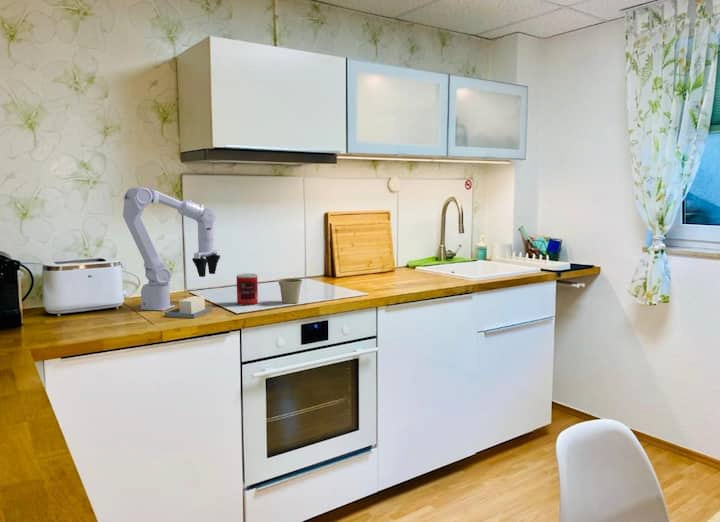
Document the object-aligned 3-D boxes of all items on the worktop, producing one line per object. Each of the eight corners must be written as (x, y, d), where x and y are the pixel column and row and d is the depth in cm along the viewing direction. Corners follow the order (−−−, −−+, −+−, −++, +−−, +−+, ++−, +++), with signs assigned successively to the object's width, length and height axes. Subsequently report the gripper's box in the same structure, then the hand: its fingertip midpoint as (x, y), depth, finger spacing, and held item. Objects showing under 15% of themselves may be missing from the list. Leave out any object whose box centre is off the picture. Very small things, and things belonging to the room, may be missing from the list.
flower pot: (299, 299, 219) (299, 277, 218) (305, 303, 211) (305, 281, 210) (275, 301, 216) (275, 279, 215) (281, 305, 207) (280, 282, 206)
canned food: (248, 300, 217) (248, 272, 215) (262, 303, 211) (261, 274, 210) (232, 303, 211) (232, 275, 209) (246, 306, 206) (245, 277, 204)
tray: (164, 316, 189) (164, 312, 188) (184, 309, 201) (184, 305, 200) (193, 318, 186) (193, 313, 186) (212, 310, 198) (211, 306, 198)
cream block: (193, 308, 200) (179, 313, 192) (193, 296, 200) (179, 300, 191) (204, 309, 199) (191, 314, 191) (204, 296, 199) (191, 301, 190)
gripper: (205, 241, 203) (207, 278, 205) (224, 238, 217) (225, 272, 219) (188, 241, 205) (189, 277, 206) (208, 238, 219) (209, 272, 220)
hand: (207, 275), depth 213 cm, fingers open, 7 cm apart
